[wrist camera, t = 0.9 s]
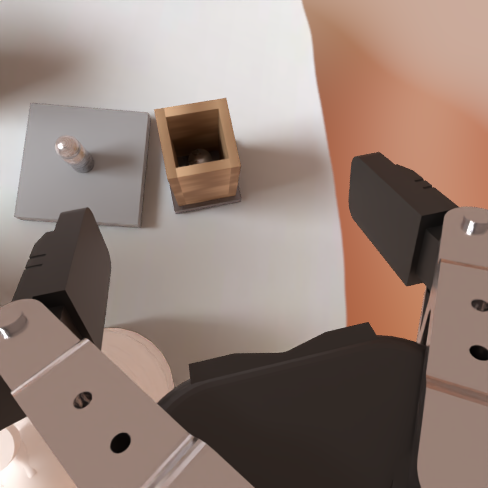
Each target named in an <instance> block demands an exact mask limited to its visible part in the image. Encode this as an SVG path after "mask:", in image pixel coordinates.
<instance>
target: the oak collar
mask: <svg viewBox="0 0 488 488" xmlns="http://www.w3.org/2000/svg"><path fill="white" fill-rule="evenodd" d="M154 111H155V116H156V121H157V127H158V132H159V137H160V142H161V148H162V153H163V158H164V163H165V169H166V174H167V179H168V182H169V184H170V186H171V189H172V191H173V193H174V196H175V198H176V201H177V203H178V205H179V206H182V205H187V204H192V203H198V202H203V201H208V200H214V199H219V198H225V197H230V196H235V195H236V191H237V185H238V179H239V174H240V168H241V164H240V160H239V155H238V151H237V146H236V141H235V137H234V132H233V128H232V123H231V118H230V114H229V109H228V105H227V100H226V98H223V99H217V100H211V101H204V102H198V103H192V104H186V105H180V106H173V107H167V108H161V109H155V110H154ZM195 149H205V150H207V151H208V152H210V151H216V150H218V151H219V156H220V160H218V161H212V162H206V163H201V164H195V165H189V166H184V167H179V164H178V159H177V157H181V156H187V155H190V153H191V152H192V151H193V150H195Z"/></svg>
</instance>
